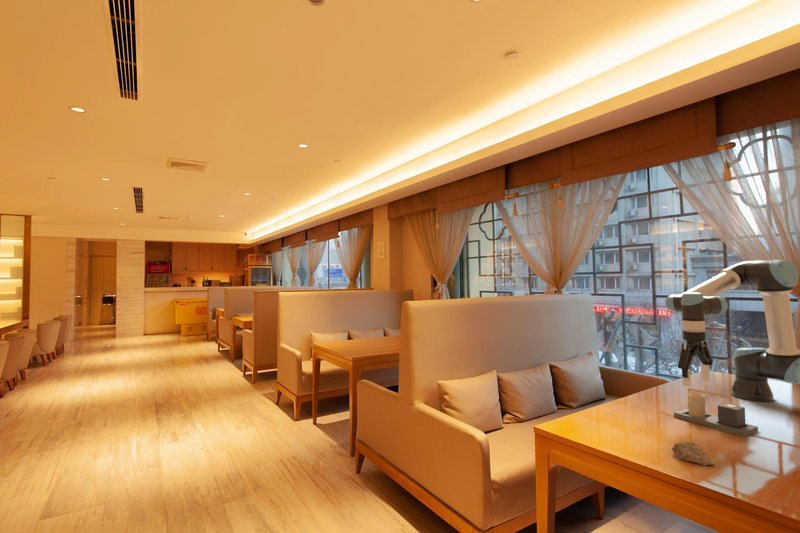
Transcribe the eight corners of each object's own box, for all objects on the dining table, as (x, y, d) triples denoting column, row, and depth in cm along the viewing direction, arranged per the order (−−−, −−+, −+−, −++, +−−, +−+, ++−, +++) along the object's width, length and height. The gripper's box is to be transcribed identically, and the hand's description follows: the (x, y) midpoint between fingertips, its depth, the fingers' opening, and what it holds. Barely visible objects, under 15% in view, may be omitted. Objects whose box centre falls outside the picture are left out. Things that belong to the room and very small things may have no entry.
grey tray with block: (687, 412, 171) (687, 392, 171) (758, 431, 150) (757, 408, 150) (674, 416, 167) (673, 395, 167) (744, 436, 145) (743, 412, 146)
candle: (708, 420, 160) (707, 394, 161) (692, 419, 162) (692, 394, 162) (701, 415, 166) (700, 390, 166) (686, 414, 167) (685, 390, 167)
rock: (667, 455, 132) (693, 463, 122) (668, 436, 134) (694, 442, 124) (691, 460, 133) (719, 468, 123) (691, 441, 134) (719, 448, 125)
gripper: (700, 327, 173) (703, 376, 173) (666, 332, 162) (668, 385, 162) (720, 328, 167) (723, 380, 166) (686, 334, 156) (688, 390, 155)
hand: (696, 383), depth 164 cm, fingers open, 13 cm apart
